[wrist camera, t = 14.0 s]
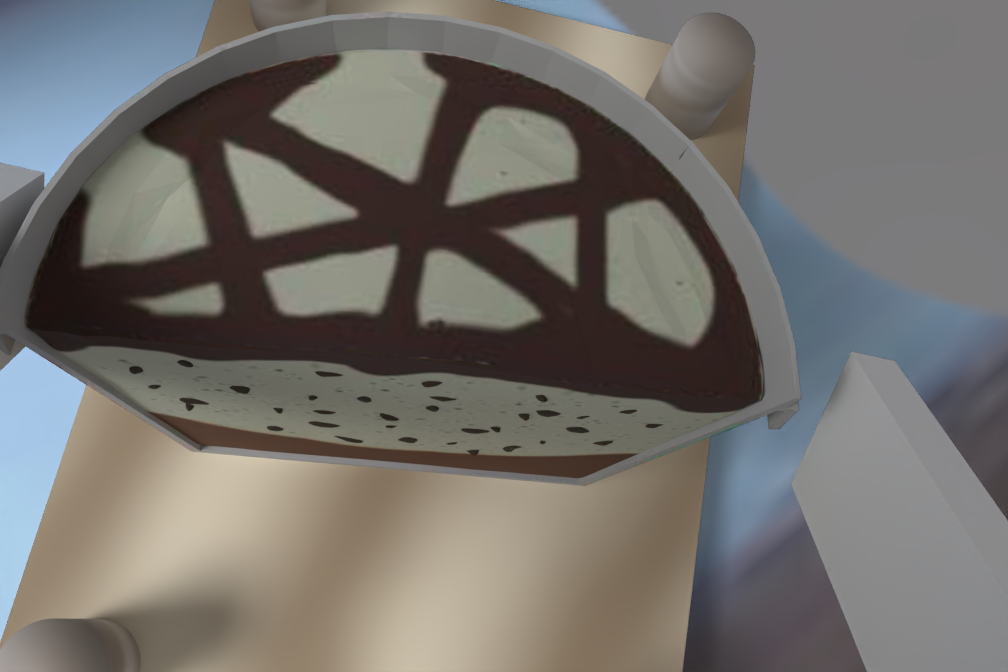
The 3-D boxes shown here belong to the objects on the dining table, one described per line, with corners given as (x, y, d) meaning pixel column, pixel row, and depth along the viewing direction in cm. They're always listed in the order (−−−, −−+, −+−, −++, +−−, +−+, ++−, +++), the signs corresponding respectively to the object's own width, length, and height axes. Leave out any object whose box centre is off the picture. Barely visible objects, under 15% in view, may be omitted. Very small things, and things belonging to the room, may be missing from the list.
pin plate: (-17, 743, 21) (-103, 770, 17) (240, -40, 27) (220, -148, 23) (645, 861, 22) (704, 913, 18) (741, 83, 28) (800, 0, 24)
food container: (649, 258, 25) (822, 38, 16) (644, 491, 23) (836, 402, 14) (170, 203, 24) (40, -76, 14) (125, 446, 22) (-59, 312, 12)
